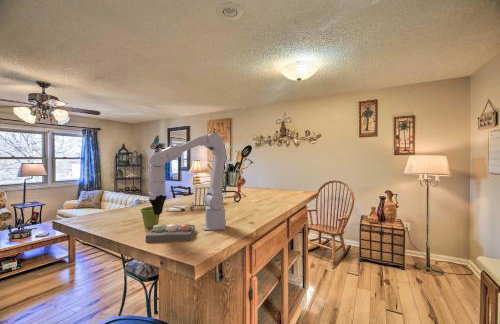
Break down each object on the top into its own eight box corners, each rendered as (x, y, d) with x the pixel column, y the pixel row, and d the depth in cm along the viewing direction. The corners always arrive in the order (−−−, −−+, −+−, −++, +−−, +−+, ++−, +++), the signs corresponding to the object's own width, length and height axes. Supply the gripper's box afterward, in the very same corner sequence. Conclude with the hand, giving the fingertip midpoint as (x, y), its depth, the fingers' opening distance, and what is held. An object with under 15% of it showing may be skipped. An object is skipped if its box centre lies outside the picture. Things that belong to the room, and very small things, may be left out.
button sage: (164, 231, 96) (164, 224, 96) (161, 234, 92) (161, 227, 92) (155, 231, 96) (155, 224, 96) (151, 234, 92) (151, 227, 92)
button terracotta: (191, 230, 97) (190, 223, 97) (189, 233, 93) (189, 226, 93) (181, 230, 97) (181, 223, 97) (179, 233, 93) (179, 226, 93)
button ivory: (177, 230, 97) (177, 223, 97) (175, 233, 93) (175, 226, 93) (168, 231, 97) (168, 224, 96) (165, 234, 93) (165, 226, 92)
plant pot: (154, 230, 103) (153, 211, 103) (135, 228, 105) (135, 210, 105) (165, 224, 112) (165, 206, 112) (148, 223, 114) (148, 206, 114)
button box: (194, 230, 101) (194, 224, 101) (190, 240, 89) (189, 233, 89) (155, 232, 100) (155, 225, 100) (145, 242, 88) (145, 234, 88)
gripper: (153, 180, 101) (154, 210, 101) (141, 183, 86) (141, 218, 87) (170, 179, 101) (170, 209, 102) (160, 183, 87) (160, 218, 87)
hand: (158, 214), depth 94 cm, fingers closed
